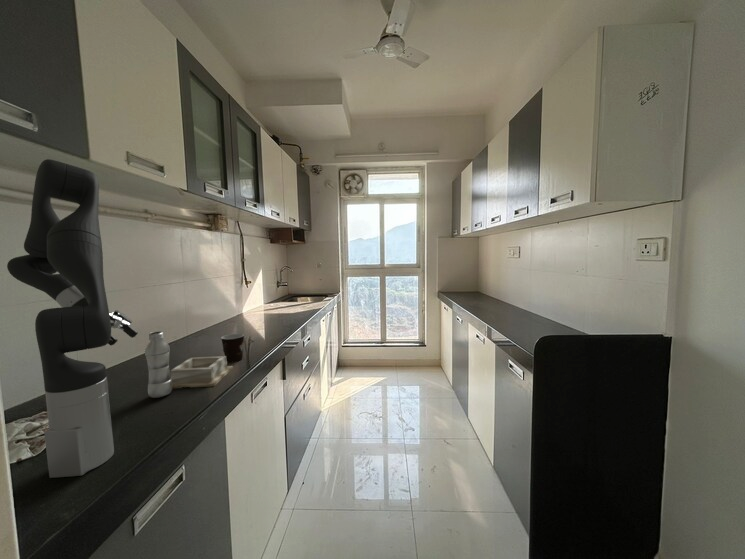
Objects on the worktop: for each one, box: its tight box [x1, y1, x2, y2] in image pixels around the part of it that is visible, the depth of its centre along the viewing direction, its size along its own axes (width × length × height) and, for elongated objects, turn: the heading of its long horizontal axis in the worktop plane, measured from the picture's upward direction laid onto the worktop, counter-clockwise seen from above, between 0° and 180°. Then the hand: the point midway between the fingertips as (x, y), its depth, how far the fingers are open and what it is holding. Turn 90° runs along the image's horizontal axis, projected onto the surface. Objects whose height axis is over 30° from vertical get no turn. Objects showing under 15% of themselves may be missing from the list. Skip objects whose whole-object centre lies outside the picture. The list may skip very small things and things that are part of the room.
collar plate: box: [170, 355, 234, 389], centre depth 108 cm, size 16×16×6 cm
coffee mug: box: [220, 333, 245, 363], centre depth 125 cm, size 12×9×10 cm
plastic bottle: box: [144, 331, 174, 399], centre depth 94 cm, size 6×7×20 cm
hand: (125, 339), depth 92 cm, fingers open, 8 cm apart
